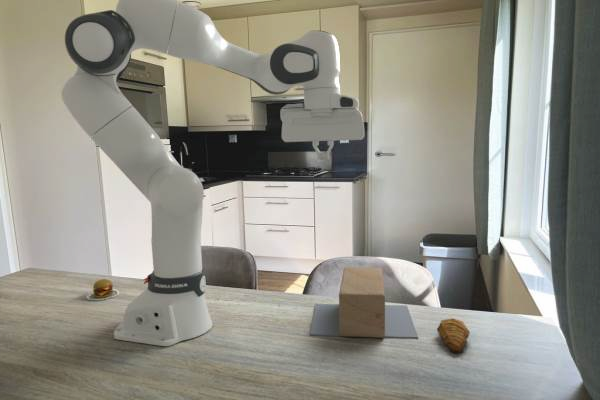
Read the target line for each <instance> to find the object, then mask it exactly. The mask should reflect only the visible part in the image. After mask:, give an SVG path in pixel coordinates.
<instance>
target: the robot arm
mask: <svg viewBox="0 0 600 400" xmlns="http://www.w3.org/2000/svg"><path fill="white" fill-rule="evenodd" d="M64 45H65V49H66V51H67V54H68V55H69V57H70V59H71V60H72V61H73V63H74V64H76V72H75V73H74V74H73V76H71V77H70V78H69V79H67V80H66V81H65V83H64V84H63V87H62V89H61V99H62V102H63V103H64V105H65V106H66V108H67V110H68V111H69V113H70V114H71V116H72V117H73V118H74V119H75V122H77V124H78V125H79V126H80V128H81V129H82V130H83V131H84V133H86V135H88V136H89V138H90V139H91V140H92V141H93V142H94V143H95V144H96V145H97V146H98V147H99V149H100V150H102V152H103V153H104V154H105V155H106V156H107V157H108V158H109V160H111V161H112V162H113V164H114V165H116V167H117V168H118V169H119V170H120V171H121V172H122V174H124V175H125V177H127V179H128V180H129V181H130V182H131V183H132V184H133V185H134V186H135V187H136V189H138V191H139V192H141V194H142V195H143V196H144V197H145V198H146V199H147V200H148V201H149V202H150V207H151V240H150V242H151V254H152V264H153V265H152V266H153V270H152V272H151V273H150V274H148V275H147V277H145V278H144V279H143V285H146V284H147V288H146V289H144V291H142V292H141V293H140V294H139V295H138V296H136V298H134V299H133V300H132V301H131V302H130V303H129V304H128V305H127V306H126V307H125V308H126V309H125V311H124V315H123V321H122V322H121V323H119V325H118V326H117V327H116V328H115V330H113V339H114V340H119V341H127V342H133V343H141V344H146V345H147V344H148V345H154V346H161V347H171V346H173V345H175V344H177V343H180V342H182V341H183V342H184V341H186V340H190V339H193V338H197V337H199V336H201V335H203V334H205V333H207V332H209V330H211V328H212V327H213V320H212V317H211V315H210V311H209V307H208V303H207V298H206V293H205V292H206V287H207V286H206V284H207V283H206V274H205V268H204V267H203V257H202V238H201V236H202V235H201V234H202V233H201V232H202V223H203V222H202V221H203V207H204V206H203V205H204V203H203V201H204V197H205V194H204V193H205V191H204V186H203V183H202V182H201V179H200V177H198V175H197V174H196V173H195V172H194V171H192V170H190V169H188V168H185V167H183V166H182V165H181V164H180V163H179V162H178V161H177V160H176V158H175V157H174V155H173V154H172V153H171V152H170V151H169V149H168V148H167V146H166V144H164V142H163V141H162V139H161V137H160V136H159V135H158V133H157V132H156V131H155V130H154V129H153V127H152V126H151V125H150V124H149V123H148V121H147V120H146V119H145V118H144V117H143V115H141V113H140V112H139V111H138V110H137V108H135V107H134V106H133V104H132V103H131V102H130V101H129V100H128V98H127V97H126V96H125V94H124V93H123V92H122V91H121V90H120V88H119V86H118V84H117V82H118V81H119V79H120V78H121V77H122V75H123V74H124V72H125V71H126V70H127V68H128V67H129V64H130V62H131V60H132V59H131V58H132V54H133V52H134V51H136V50H140V49H143V50H145V49H146V50H151V51H152V50H153V51H155V52H158V53H162V54H164V55H167V56H170V57H173V58H177V59H182V60H185V61H190V62H195V63H200V64H203V65H209V66H212V67H216V68H218V69H222V70H225V71H227V72H230V73H232V74H236V75H238V76H240V77H243V78H246V79H249V80H250V81H252V82H253V83H255V84H256V85H257V86H258V87H259V88H260V89H262V90H263V91H265V92H266V93H268V94H269V95H273V96H274V95H277V96H278V95H282V94H285V93H287V92H289V90H291V89H293V88H295V87H296V86H298V87H299V86H300V87H302V88H303V103H301V102H300V103H292V104H291V103H287V104H285V105H283V106H282V107H281V108H280V111H279V113H280V115H279V116H280V120H281V122H282V124H281V125H282V126H281V139H282V141H284V143H292V142H293V143H298V142H312V147H313V149H314V150H315V152H316V156H317V158H316V159H317V161H326V160H327V161H328V160H329V161H330V152H331V151H332V149H333V147H334V144H335V141H359V140H360V141H361V140H363V139H364V138H365V135H366V134H365V123H364V118H363V114H362V112H361V110H359V106H360V101H359V100H358V98H355V97H352V96H348V95H344V94H341V85H340V82H339V77H340V72H341V62H340V60H341V58H340V50H339V49H340V48H339V44H338V41H337V38H336V37H335V36H334V35H333V34H332V33H330V32H328V31H325V30H309V31H307V32H306V33H305V34H304V35H303V36H301V37H299V38H298V39H295V40H293V41H290V42H286V43H282V44H280V45H278V46H277V47H275V48H274V49H273V50H271V52H269V53H266V54H263V53H262V54H260V53H256V52H254V51H251V50H248V49H245V48H243V47H241V46H238V45H235V44H233V43H231V42H229V41H228V40H226V39H225V38H223V36H222V35H221V34H220V33H219V31H218V30H217V28H216V26H215V23H214V22H213V20H212V19H211V17H210V16H209V15H208V14H207V13H204V12H203V11H202V10H200V9H198V8H196V7H194V6H192V5H189V4H187V3H185V2H182V1H179V0H118V2H117V3H116V6H115V10H112V9H109V10H103V11H98V12H93V13H87V14H82V15H81V16H77V17H76V18H74V19H73V20H71V22H70V23H69V24H68V26H67V28H66V30H65V33H64ZM326 141H327V146H329V147H328V149H327V151H326V152H321V151H320V149H319V147H318V146H319V144H320V142H326Z"/></svg>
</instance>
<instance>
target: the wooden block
mask: <svg viewBox="0 0 600 400" xmlns="http://www.w3.org/2000/svg"><path fill="white" fill-rule="evenodd" d="M339 288H340V289H339V293H338V304H339V326H340V335H341V336H340V337H349V336H357V337H358V338H380V339H381V338H385V305H386V294H385V284H384V276H383V269H382V268H380V267H347V266H345V267H344V268H343V271H342V277H341V282H340V287H339Z"/></svg>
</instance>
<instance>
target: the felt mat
mask: <svg viewBox="0 0 600 400" xmlns="http://www.w3.org/2000/svg"><path fill="white" fill-rule="evenodd" d="M412 318H413V317H412V316H411V313H410V311H409V308H408V305H399V304H398V305H395V304H393V305H392V304H390V305H389V304H385V337H384V338H391V339H392V338H395V339H419V335H418V332H417V330H416V327H415V324H414V321H413V319H412ZM309 336H312V337H313V336H314V337H315V336H316V337H318V336H319V337H342V336H341V335H340V326H339V303H315V307H314V312H313V317H312V321H311V325H310V331H309ZM348 337H349V338H350V337H353V338H354V337H355V338H356V337H357V336H348Z"/></svg>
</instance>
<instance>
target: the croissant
mask: <svg viewBox="0 0 600 400" xmlns="http://www.w3.org/2000/svg"><path fill="white" fill-rule="evenodd" d="M436 331H437V333H438V334H439V336H440V337H441V339H442V340H443V342H444V344H445V346H446V347H447V348H448V349H449V350H450V351H451V352H453V353H455V354H458V353H461V352H462V351H463V348H464V347H465V346H466V344H467V342H468V340H467V339H468V338H469V336H470V330H469V329H468V327H467V326H466V324H465V322H464V321H462V320H458V319H456V318H447V319H442V320H440V323H439V325H438V326H437V329H436Z"/></svg>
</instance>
